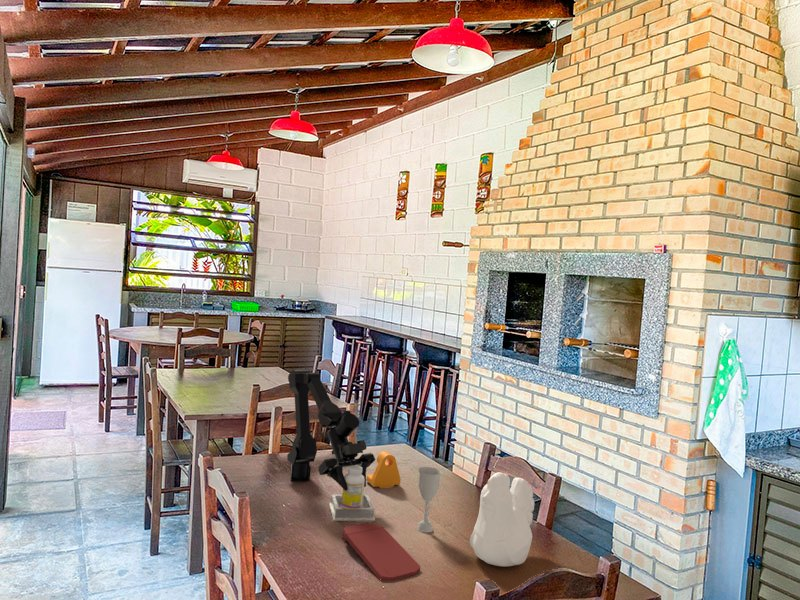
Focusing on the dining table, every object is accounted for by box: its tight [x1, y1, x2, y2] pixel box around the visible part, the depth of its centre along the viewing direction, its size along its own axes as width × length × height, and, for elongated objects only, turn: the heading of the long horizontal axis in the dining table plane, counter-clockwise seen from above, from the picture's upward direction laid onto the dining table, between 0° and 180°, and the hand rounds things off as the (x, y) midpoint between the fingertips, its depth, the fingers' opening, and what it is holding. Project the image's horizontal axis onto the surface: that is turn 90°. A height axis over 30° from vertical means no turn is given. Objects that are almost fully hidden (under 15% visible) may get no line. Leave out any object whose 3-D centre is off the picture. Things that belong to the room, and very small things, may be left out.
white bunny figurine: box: [469, 471, 535, 567], centre depth 163 cm, size 25×16×25 cm, turn 126°
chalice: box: [416, 466, 443, 533], centre depth 177 cm, size 7×7×18 cm
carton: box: [341, 521, 421, 582], centre depth 158 cm, size 12×5×25 cm
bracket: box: [366, 450, 402, 489], centre depth 213 cm, size 11×7×12 cm, turn 116°
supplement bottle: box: [341, 465, 365, 508], centre depth 185 cm, size 7×7×13 cm
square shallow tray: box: [328, 493, 376, 522], centre depth 185 cm, size 13×13×4 cm
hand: (355, 488), depth 184 cm, fingers closed on supplement bottle, 6 cm apart
